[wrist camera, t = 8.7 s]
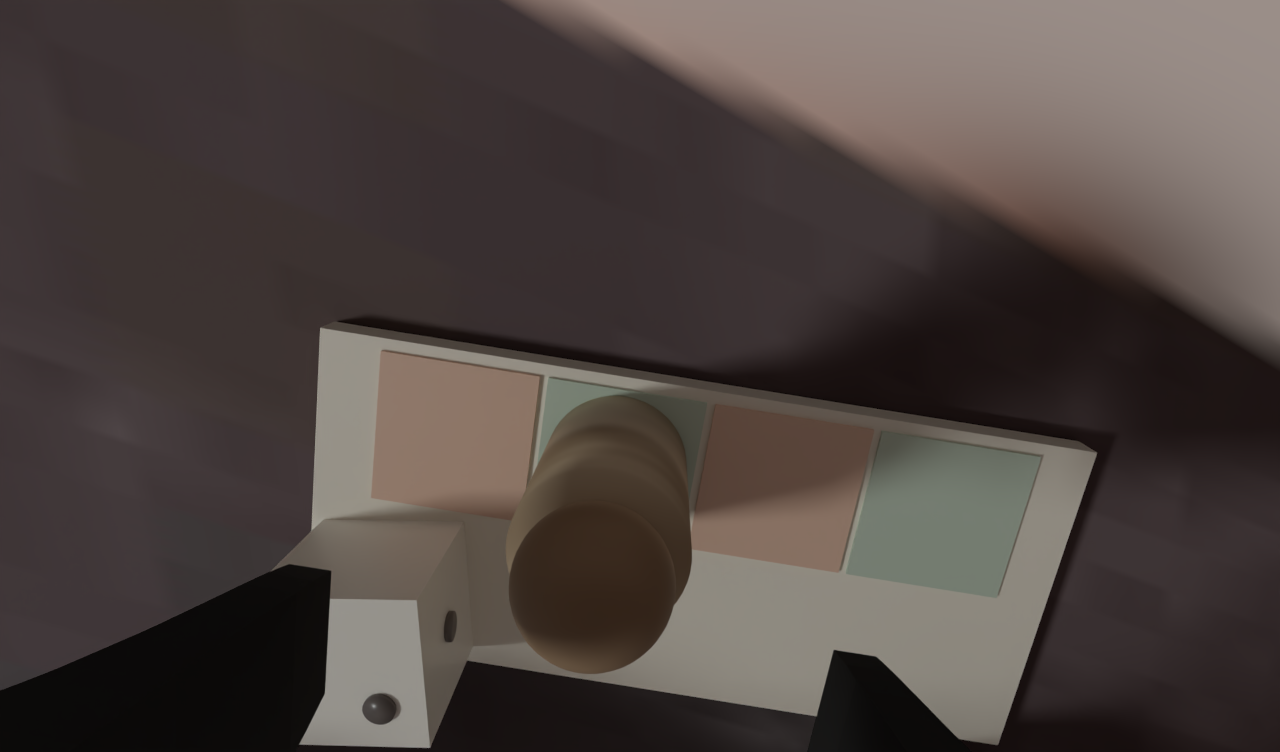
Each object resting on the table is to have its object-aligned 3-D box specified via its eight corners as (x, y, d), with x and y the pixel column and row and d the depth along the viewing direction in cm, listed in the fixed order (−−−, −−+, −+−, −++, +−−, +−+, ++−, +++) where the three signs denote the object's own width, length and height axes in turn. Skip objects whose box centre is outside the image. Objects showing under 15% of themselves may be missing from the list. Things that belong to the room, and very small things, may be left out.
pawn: (672, 538, 18) (675, 746, 11) (537, 514, 18) (460, 709, 11) (698, 409, 17) (716, 551, 11) (556, 384, 17) (484, 511, 11)
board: (985, 724, 20) (999, 747, 19) (320, 617, 20) (305, 637, 19) (1079, 441, 18) (1099, 454, 17) (335, 321, 18) (318, 328, 17)
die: (476, 646, 19) (433, 751, 16) (338, 643, 20) (264, 747, 16) (468, 521, 18) (419, 602, 15) (323, 519, 19) (241, 599, 15)
